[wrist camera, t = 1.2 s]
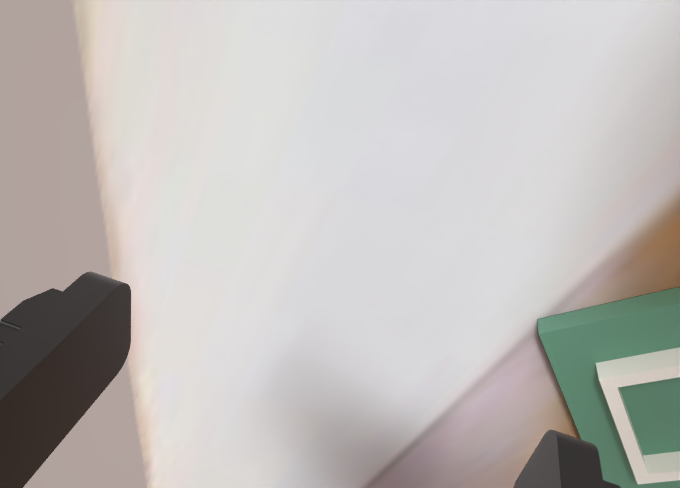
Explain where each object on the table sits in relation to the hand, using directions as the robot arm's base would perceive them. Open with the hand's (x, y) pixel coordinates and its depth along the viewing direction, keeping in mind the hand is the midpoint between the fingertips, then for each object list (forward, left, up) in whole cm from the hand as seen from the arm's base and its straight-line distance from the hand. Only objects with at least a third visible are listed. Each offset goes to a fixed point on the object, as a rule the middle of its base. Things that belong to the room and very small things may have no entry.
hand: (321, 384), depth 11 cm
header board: (-6, +24, -23) cm, 34 cm away
